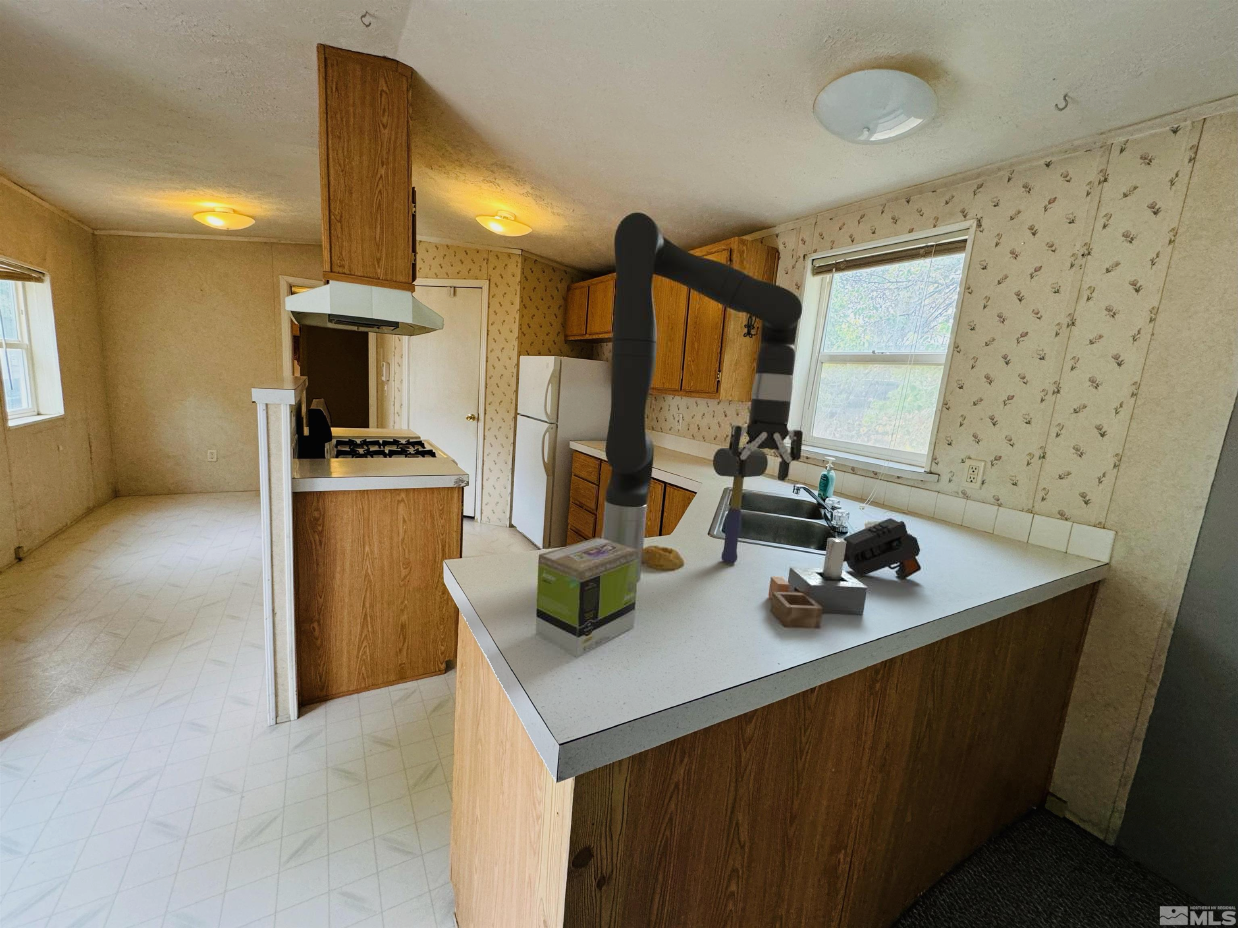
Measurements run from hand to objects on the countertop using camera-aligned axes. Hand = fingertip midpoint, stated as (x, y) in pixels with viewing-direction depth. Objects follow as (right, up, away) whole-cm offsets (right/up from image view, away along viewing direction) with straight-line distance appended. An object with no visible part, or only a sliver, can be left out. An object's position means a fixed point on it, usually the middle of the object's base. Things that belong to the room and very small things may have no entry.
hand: (761, 478), depth 100 cm
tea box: (-35, -26, -15) cm, 46 cm away
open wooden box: (+5, -27, -3) cm, 28 cm away
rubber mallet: (-1, -23, +26) cm, 34 cm away
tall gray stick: (+16, -27, +6) cm, 32 cm away
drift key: (+8, -26, +5) cm, 28 cm away
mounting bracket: (+52, -25, +45) cm, 73 cm away
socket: (+16, -27, +6) cm, 32 cm away
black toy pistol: (+40, -27, +26) cm, 55 cm away
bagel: (-18, -22, +21) cm, 36 cm away
